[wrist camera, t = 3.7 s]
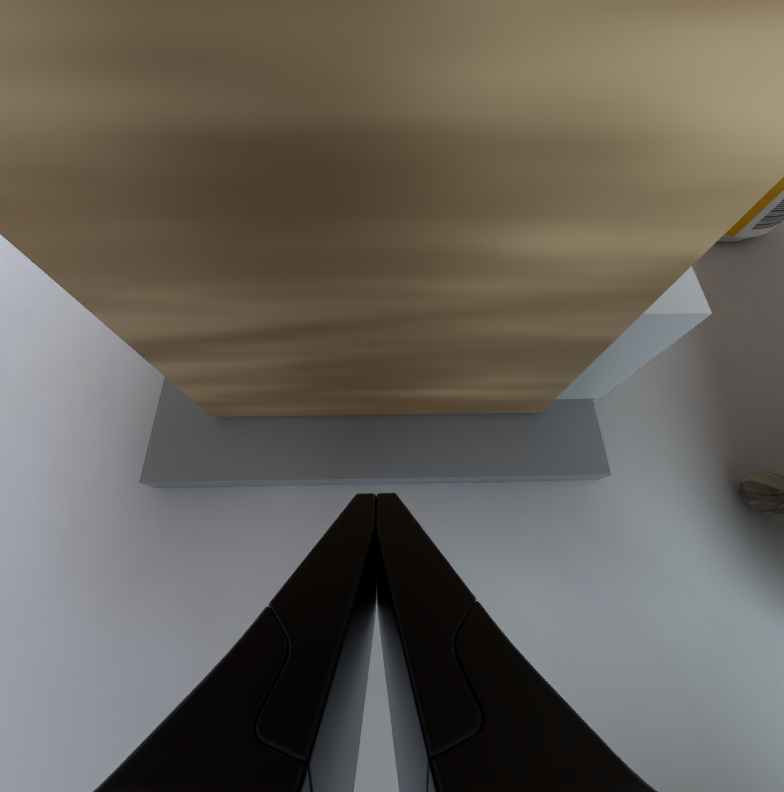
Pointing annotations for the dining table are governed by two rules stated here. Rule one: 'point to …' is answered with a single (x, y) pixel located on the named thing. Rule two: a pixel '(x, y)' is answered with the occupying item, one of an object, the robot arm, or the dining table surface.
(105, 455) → the dining table surface
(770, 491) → the tabletop clock
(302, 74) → the door
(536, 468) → the housing stand
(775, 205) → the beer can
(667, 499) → the dining table surface
